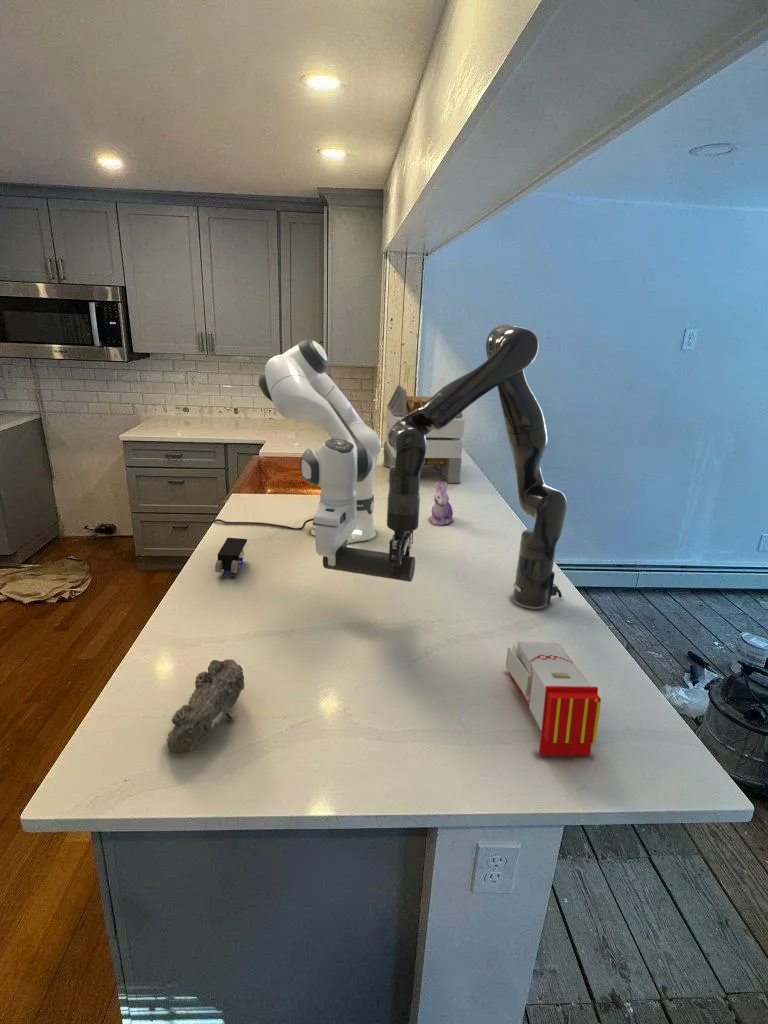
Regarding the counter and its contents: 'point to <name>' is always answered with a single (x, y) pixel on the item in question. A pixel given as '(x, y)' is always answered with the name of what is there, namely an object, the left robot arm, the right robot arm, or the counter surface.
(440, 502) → the figurine
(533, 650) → the toy
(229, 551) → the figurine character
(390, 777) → the counter surface
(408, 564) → the rod
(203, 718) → the fossil
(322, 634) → the counter surface
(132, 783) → the counter surface
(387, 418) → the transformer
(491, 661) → the counter surface
